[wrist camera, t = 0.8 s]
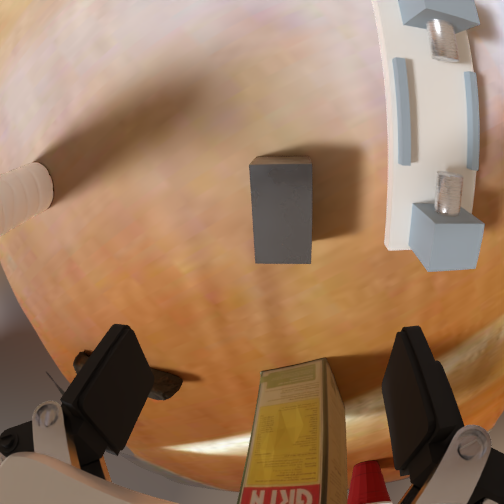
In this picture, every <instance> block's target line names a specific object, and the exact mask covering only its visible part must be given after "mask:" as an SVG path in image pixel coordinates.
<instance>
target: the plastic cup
mask: <svg viewBox="0 0 504 504" xmlns="http://www.w3.org/2000/svg"><path fill="white" fill-rule="evenodd" d="M347 504H393V503H392V501H391V500H390V497H389V495H388V492H387V489H386V485H385V482H384V478H383V475H382V473H381V469H380V466H379V464H378V462H377V461H366V462H362V463H359V464H357V465H355V466H354V469H353V474H352V479H351V484H350V490H349V495H348V500H347Z"/></svg>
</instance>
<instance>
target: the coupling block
mask: <svg viewBox="0 0 504 504" xmlns="http://www.w3.org/2000/svg"><path fill="white" fill-rule="evenodd" d="M249 170H250V185H251V201H252V216H253V232H254V248H255V263H263V264H311V248H312V162H311V160H310V158H309V156H268V157H256V158H255V159H254V160H253V161H252V162H251V163H250V165H249Z"/></svg>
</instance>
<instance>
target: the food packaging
mask: <svg viewBox="0 0 504 504" xmlns="http://www.w3.org/2000/svg"><path fill="white" fill-rule="evenodd" d="M260 374H261V378H260V385H259V392H258V398H257V404H256V410H255V416H254V422H253V427H252V432H251V437H250V443H249V448H248V453H247V458H246V463H245V467H244V472H243V477H242V482H241V488H240V493H239V497H238V502H237V504H347V448H346V422H345V408H344V404H343V401H342V399H341V396H340V393H339V390H338V387H337V385H336V382H335V379H334V375H333V373H332V371H331V368H330V366H329V364H328V362H327V359H326V358H322V359H319V360H314V361H311V362H307V363H303V364H298V365H294V366H289V367H284V368H279V369H274V370H269V371H261V372H260Z"/></svg>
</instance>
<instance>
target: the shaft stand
mask: <svg viewBox="0 0 504 504" xmlns="http://www.w3.org/2000/svg"><path fill="white" fill-rule="evenodd" d="M371 1H372V6H373V11H374V16H375V21H376V26H377V32H378V38H379V44H380V51H381V59H382V67H383V75H384V85H385V97H386V111H387V133H388V190H387V212H386V227H385V240H384V244H385V246H386V247H387V249H388V250H412V251H413V252H414V253H415V255H416V256H417V257H418V259H419V260H420V261H421V263H422V264H423V266H424V267H425V268H426V270H427V271H428V272H433V271H449V270H464V269H475V268H476V264H477V260H478V256H479V251H480V247H481V242H482V237H483V232H484V226H485V224H484V223H483V222H482V221H480V220H479V219H478V218H476V217H475V216H473V215H472V208H473V200H474V191H475V180H476V171H478V169H479V144H480V125H479V101H478V88H477V78H476V73H474V71H473V63H472V57H471V50H470V45H469V39H468V34H467V29H470V28H472V27H475V26H478V25H480V21H479V17H478V13H477V10H476V6H475V3H474V0H371Z"/></svg>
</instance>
